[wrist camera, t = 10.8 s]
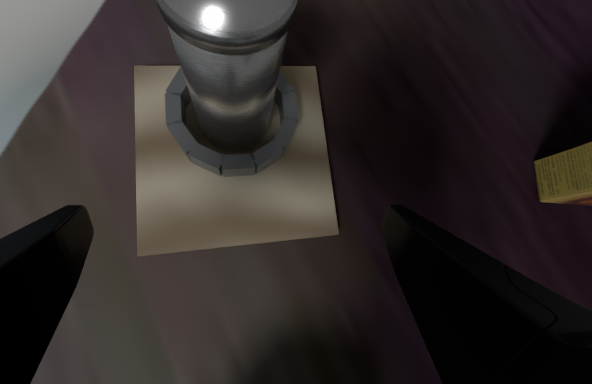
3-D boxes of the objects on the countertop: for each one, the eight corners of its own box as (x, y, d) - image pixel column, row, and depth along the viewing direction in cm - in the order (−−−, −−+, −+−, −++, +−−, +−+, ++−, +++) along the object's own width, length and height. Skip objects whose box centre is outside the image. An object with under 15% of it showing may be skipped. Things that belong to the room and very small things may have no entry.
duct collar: (298, 172, 23) (303, 164, 21) (174, 180, 21) (167, 173, 19) (286, 66, 25) (289, 50, 23) (169, 65, 23) (163, 48, 21)
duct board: (334, 235, 24) (338, 234, 23) (142, 256, 21) (137, 256, 20) (312, 73, 26) (315, 66, 25) (138, 73, 23) (134, 65, 23)
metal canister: (282, 137, 23) (326, 11, 11) (215, 165, 22) (184, 54, 10) (252, 77, 24) (262, -103, 12) (185, 100, 23) (120, -77, 11)
